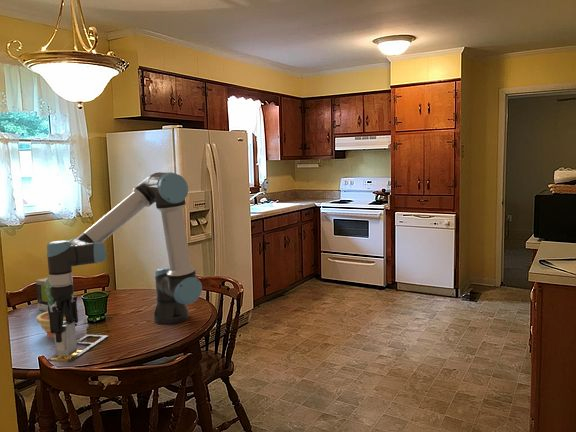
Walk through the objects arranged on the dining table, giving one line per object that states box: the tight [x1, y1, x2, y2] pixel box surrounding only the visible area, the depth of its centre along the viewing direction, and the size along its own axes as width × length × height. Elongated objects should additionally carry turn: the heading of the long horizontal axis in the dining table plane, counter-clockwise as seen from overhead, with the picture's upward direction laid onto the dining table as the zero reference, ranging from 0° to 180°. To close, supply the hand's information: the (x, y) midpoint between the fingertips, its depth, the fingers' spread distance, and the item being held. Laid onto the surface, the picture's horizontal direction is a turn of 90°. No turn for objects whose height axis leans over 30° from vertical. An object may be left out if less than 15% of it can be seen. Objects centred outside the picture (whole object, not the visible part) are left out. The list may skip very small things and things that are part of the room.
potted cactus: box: [35, 276, 78, 338], centre depth 198 cm, size 15×15×25 cm
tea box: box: [35, 277, 75, 312], centre depth 231 cm, size 15×10×15 cm, turn 58°
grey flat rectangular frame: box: [47, 334, 109, 363], centre depth 184 cm, size 10×24×1 cm, turn 170°
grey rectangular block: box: [53, 321, 78, 356], centre depth 175 cm, size 5×5×11 cm
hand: (66, 347), depth 176 cm, fingers closed on grey rectangular block, 5 cm apart
